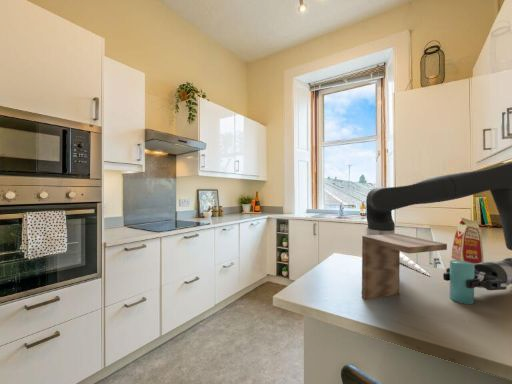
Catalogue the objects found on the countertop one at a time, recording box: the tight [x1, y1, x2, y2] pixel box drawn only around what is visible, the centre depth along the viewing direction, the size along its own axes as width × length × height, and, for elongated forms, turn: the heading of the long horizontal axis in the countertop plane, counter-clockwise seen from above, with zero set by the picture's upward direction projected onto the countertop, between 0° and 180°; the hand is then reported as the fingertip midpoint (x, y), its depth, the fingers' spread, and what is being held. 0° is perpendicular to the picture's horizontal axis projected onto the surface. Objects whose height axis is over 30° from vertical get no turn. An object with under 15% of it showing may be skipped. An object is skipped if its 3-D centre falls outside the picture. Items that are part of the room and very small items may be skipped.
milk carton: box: [450, 217, 484, 264], centre depth 113 cm, size 9×9×20 cm
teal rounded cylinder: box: [449, 259, 475, 305], centre depth 74 cm, size 6×6×11 cm
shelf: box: [361, 233, 448, 300], centre depth 70 cm, size 13×16×18 cm
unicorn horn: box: [400, 251, 431, 277], centre depth 105 cm, size 5×24×5 cm, turn 177°
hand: (456, 280), depth 73 cm, fingers closed on teal rounded cylinder, 5 cm apart
